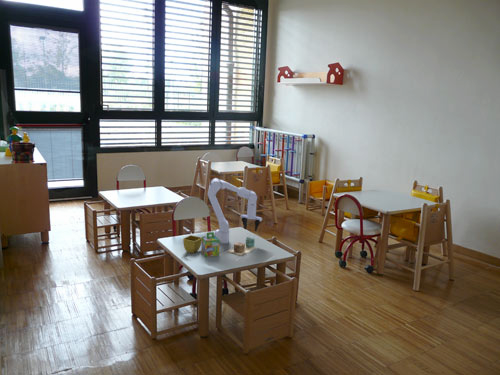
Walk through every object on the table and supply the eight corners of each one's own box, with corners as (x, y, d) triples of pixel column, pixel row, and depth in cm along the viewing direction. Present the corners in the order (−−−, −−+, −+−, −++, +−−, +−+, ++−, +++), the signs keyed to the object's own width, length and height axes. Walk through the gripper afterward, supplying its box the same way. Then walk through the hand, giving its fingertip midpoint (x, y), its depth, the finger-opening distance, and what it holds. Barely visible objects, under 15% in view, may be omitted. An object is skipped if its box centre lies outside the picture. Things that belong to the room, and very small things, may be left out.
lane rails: (217, 257, 259) (217, 255, 259) (240, 245, 281) (240, 243, 281) (236, 263, 252) (236, 260, 252) (258, 250, 274) (258, 248, 274)
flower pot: (202, 250, 269) (202, 237, 267) (194, 255, 261) (194, 241, 259) (190, 248, 272) (190, 234, 270) (182, 252, 265) (182, 238, 263)
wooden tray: (227, 253, 265) (228, 244, 264) (244, 245, 281) (244, 236, 280) (241, 257, 260) (241, 248, 259) (257, 248, 276) (257, 239, 275)
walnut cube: (233, 251, 266) (233, 244, 265) (237, 249, 270) (238, 242, 269) (240, 253, 263) (240, 246, 262) (244, 251, 267) (244, 243, 266)
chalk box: (205, 259, 256) (205, 236, 252) (200, 254, 264) (201, 231, 261) (219, 258, 259) (220, 234, 256) (215, 252, 267) (215, 230, 264)
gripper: (239, 209, 279) (238, 229, 282) (259, 213, 274) (258, 233, 277) (243, 207, 286) (242, 226, 289) (263, 210, 280) (262, 230, 283)
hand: (250, 229), depth 283 cm, fingers open, 7 cm apart
